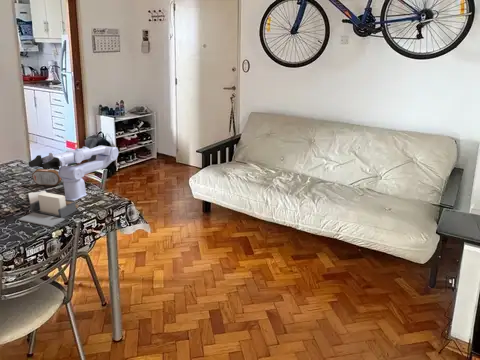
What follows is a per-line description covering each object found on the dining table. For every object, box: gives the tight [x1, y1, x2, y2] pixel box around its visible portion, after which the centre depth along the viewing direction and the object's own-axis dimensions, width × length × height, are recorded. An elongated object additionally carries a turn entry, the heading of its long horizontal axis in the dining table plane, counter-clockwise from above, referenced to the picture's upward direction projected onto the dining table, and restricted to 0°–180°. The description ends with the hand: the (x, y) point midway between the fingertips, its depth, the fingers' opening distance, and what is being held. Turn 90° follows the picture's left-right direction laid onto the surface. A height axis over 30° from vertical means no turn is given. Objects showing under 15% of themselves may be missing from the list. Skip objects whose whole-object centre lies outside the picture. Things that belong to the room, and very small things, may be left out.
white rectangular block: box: [38, 192, 67, 215], centre depth 199 cm, size 4×12×8 cm, turn 68°
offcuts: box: [66, 200, 79, 209], centre depth 206 cm, size 3×13×2 cm, turn 68°
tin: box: [31, 168, 63, 187], centre depth 232 cm, size 15×3×8 cm, turn 84°
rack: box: [29, 200, 77, 219], centre depth 200 cm, size 9×17×4 cm, turn 68°
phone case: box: [27, 190, 48, 205], centre depth 215 cm, size 9×2×16 cm
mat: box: [17, 212, 66, 228], centre depth 192 cm, size 8×18×1 cm, turn 68°
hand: (36, 165), depth 193 cm, fingers open, 7 cm apart
